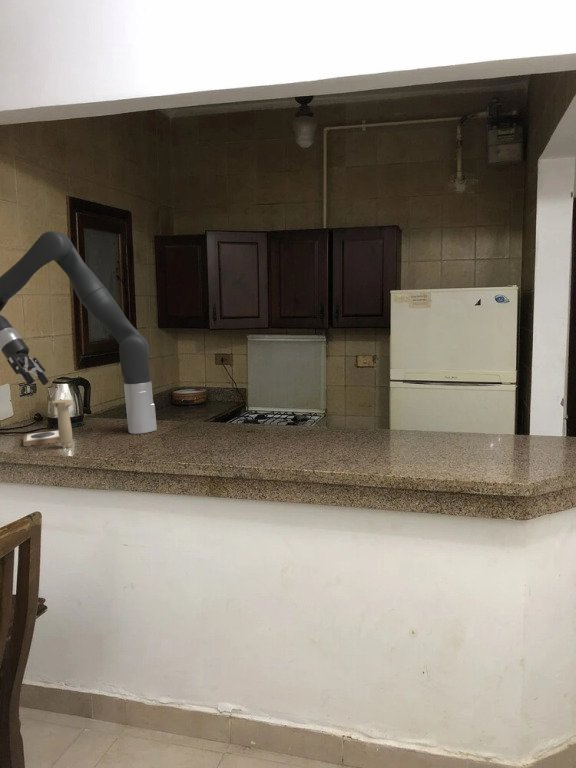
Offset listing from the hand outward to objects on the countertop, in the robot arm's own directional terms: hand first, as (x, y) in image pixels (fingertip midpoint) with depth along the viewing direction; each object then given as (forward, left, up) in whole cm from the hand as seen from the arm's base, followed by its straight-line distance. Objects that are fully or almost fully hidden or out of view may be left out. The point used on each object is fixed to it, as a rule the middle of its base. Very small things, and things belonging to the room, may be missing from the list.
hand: (39, 383), depth 195 cm
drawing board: (+1, -4, -20) cm, 20 cm away
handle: (-6, +11, -20) cm, 24 cm away
